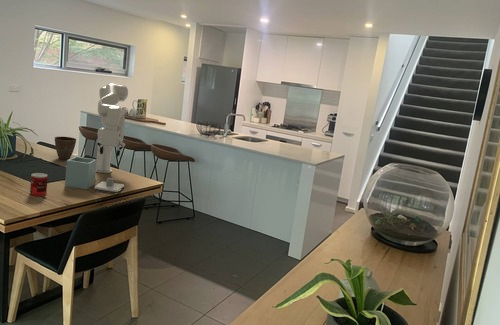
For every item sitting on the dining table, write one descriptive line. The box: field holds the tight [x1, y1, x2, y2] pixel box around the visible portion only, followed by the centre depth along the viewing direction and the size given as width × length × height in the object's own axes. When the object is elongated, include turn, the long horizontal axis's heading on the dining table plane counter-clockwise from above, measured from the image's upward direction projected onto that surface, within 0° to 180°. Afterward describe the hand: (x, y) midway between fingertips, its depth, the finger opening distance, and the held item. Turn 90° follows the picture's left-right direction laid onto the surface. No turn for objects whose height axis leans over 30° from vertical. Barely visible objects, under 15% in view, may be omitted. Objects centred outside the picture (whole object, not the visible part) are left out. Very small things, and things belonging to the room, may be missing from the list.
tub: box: [64, 156, 97, 190], centre depth 235 cm, size 13×13×16 cm
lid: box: [94, 177, 125, 192], centre depth 237 cm, size 14×14×6 cm
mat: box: [93, 189, 123, 195], centre depth 238 cm, size 14×14×1 cm
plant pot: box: [54, 136, 77, 161], centre depth 290 cm, size 15×15×16 cm
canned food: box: [29, 172, 49, 197], centre depth 208 cm, size 8×8×11 cm
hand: (109, 155), depth 235 cm, fingers open, 9 cm apart
